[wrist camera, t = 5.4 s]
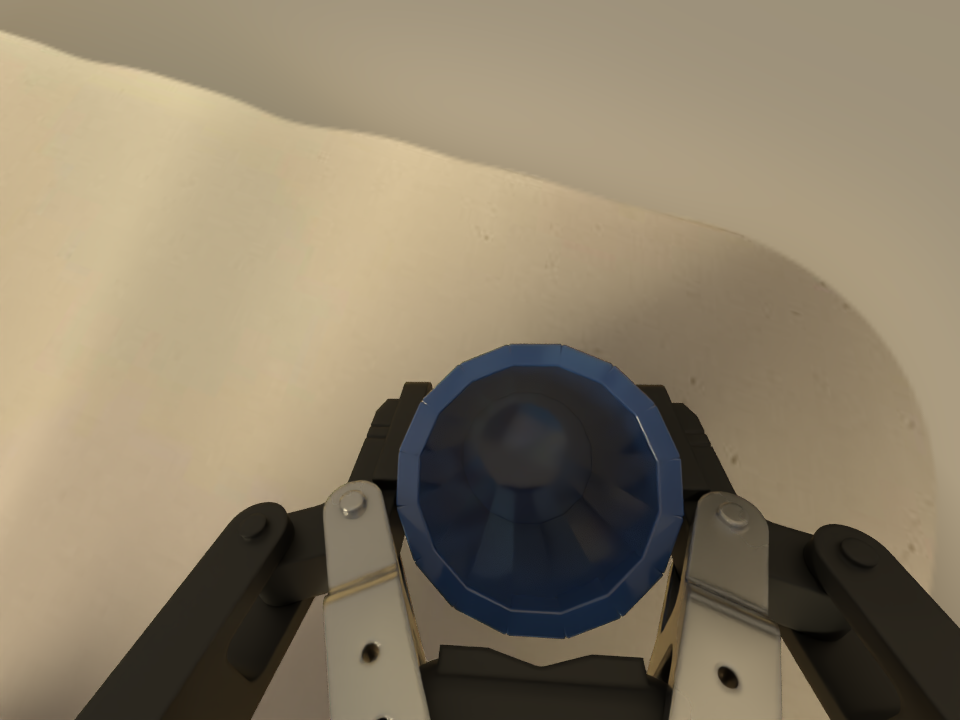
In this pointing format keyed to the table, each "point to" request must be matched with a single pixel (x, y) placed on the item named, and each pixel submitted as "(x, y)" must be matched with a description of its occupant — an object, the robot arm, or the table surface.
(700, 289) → the table surface
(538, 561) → the cup
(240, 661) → the robot arm
